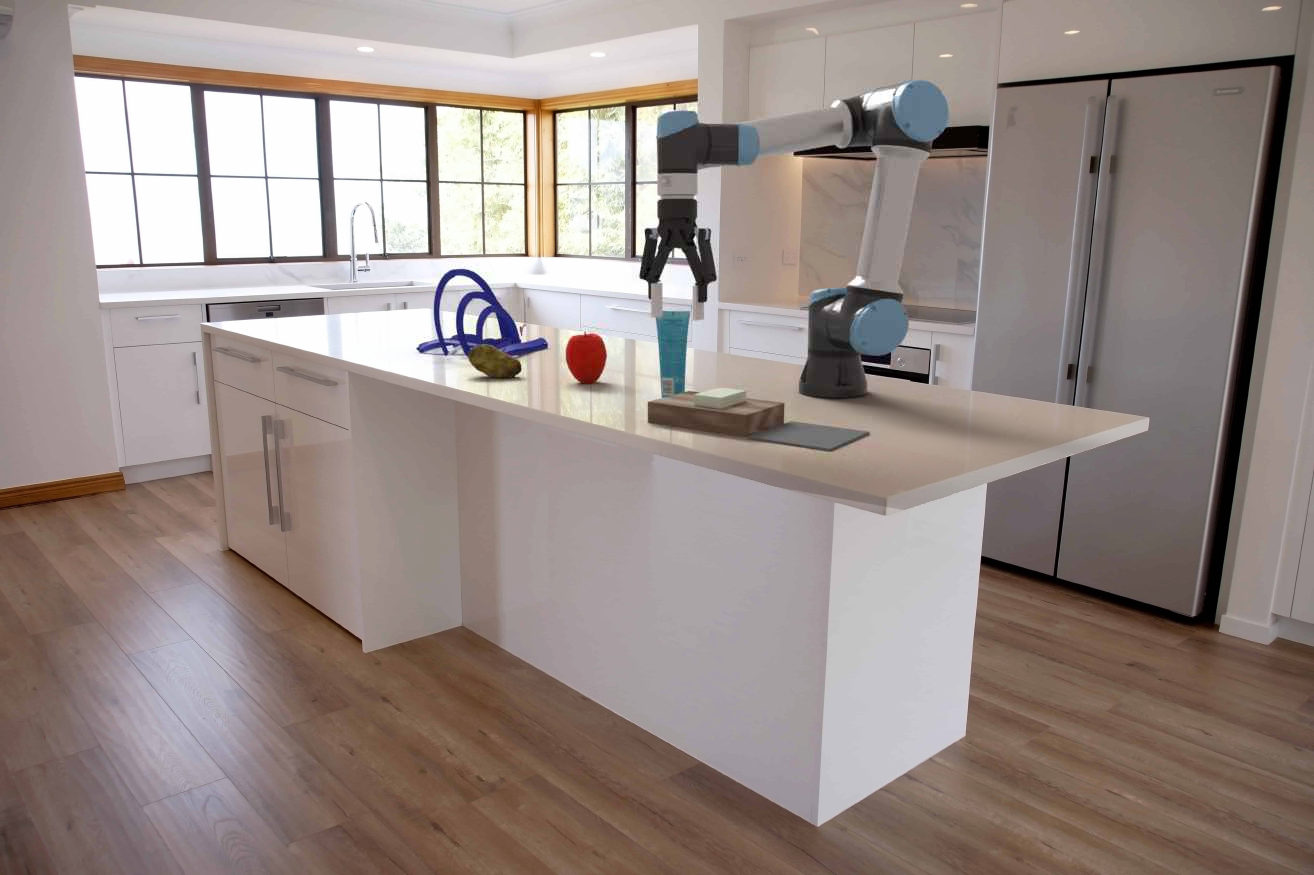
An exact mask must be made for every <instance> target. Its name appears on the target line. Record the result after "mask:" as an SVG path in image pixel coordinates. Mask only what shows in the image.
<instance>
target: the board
mask: <svg viewBox="0 0 1314 875" xmlns="http://www.w3.org/2000/svg"><path fill="white" fill-rule="evenodd" d="M697 393H701V392H700V391H691V390H687V391H685V392H683V393H679V394H675V395H672V396H668V397H664V398H662V397H661V398H658V399H653V400H649V401H647V423H650V424H657V425H664V426H672V427H677V428H683V429H691V430H697V431H703V432H704V431H705V432H709V433H716V434H717V433H718V434H723V435H730V436H737V437H743V438H748V436H751V435H754V434H757V433H759V432H762V431H765V430H768V429H771V428H773V427H776V426H779V425H782V424H785V406H786V405H785V404H786V403H785V402H781V401H772V400H764V399H757V398H750V397H749V398H747V397H746V401H744V402H741V403H737V404H734V405H731V406H727V407H724V408H713V407H706V406H698V405H694V394H697Z"/></svg>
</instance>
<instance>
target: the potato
mask: <svg viewBox="0 0 1314 875" xmlns="http://www.w3.org/2000/svg"><path fill="white" fill-rule="evenodd" d="M470 349H471V350H470V351H469V353H468V361H469V363H470V364H471V366H472V367H473V368H474V369H475V370H476V371H479V372H481V373H483V374H484V375H486V376H487V377H490V378H494V379H506V378H514V377H516V376H518V375H519V374H520V373H521V372H522V363H521V361H520V360H519V359H518V358H516V357H514V356H510V355H508V354H506V353H504V352H503V351H501V350H499V349H497V348H496V347H494V346H492V345H487V344H479V345H476V346H475V347H473V348H470Z"/></svg>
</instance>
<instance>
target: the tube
mask: <svg viewBox="0 0 1314 875" xmlns="http://www.w3.org/2000/svg"><path fill="white" fill-rule="evenodd" d="M662 311H663V316H662V317H655V324H656V334H657V344H658V345H657V346H658V358H659V372H660V373H659V376H660V391H661V398H664V397H668V396H672V395H675V394H679V393H683V392H686V387H685V386H686V368H687V367H686V365H687V363H686V362H687V349H688V348H687V347H688V346H687V345H688V334H689V333H688V332H689V325H690V324H689V323H690V320H691V318H690V317H691V311H690V310H683V311H682V310H675V311H674V310H662Z"/></svg>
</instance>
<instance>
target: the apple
mask: <svg viewBox="0 0 1314 875" xmlns="http://www.w3.org/2000/svg"><path fill="white" fill-rule="evenodd" d="M607 354H608V353H607V347H606V344H605V342H604V340H603V337H601V336H600V335H599V334H597V333H593V332H592V333H586V331H584V334H575V335H571V337H570V338H569V339H568V342H567V344H566V348H565V362H566V365H567V367H568V370H569V372H570V373H571V375H572V376H573V378H574V379H575V380H576V381H578V382H579V383H581V384H593V383H596V382H597V381H598V380H599V379H600V377H601V376H602V374H603V371H604V370H605V367H606V363H607V358H608V355H607Z"/></svg>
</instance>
